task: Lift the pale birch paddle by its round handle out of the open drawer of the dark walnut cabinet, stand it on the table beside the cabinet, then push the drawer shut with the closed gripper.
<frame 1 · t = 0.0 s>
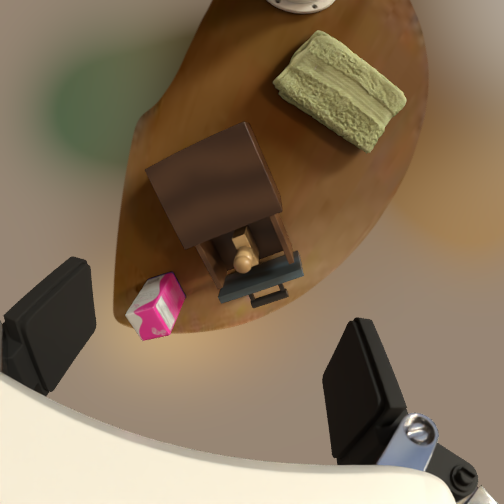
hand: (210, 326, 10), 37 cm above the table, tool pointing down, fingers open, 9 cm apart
washcloth: (340, 91, 38), on the table
drawer: (252, 259, 45), point 4 cm above the table, slide at 9.0 cm, touching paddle
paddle: (247, 240, 47), point 2 cm above the table, touching drawer
supplement box: (167, 287, 54), on the table
cabinet: (221, 178, 45), on the table
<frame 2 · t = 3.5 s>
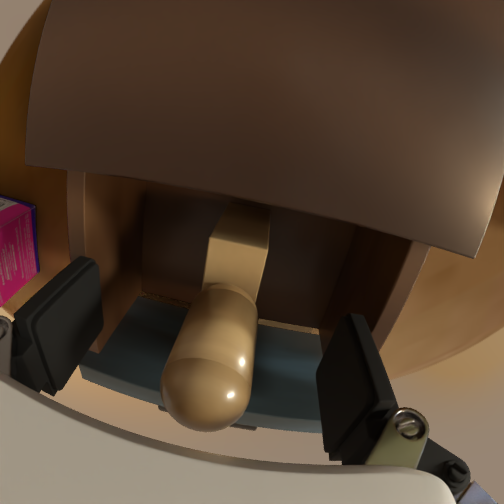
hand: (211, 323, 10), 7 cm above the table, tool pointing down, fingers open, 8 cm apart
drawer: (226, 318, 14), point 4 cm above the table, slide at 9.4 cm, touching gripper, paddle
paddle: (240, 253, 15), point 2 cm above the table, touching drawer
supplement box: (17, 231, 18), on the table
cabinet: (284, 46, 12), on the table
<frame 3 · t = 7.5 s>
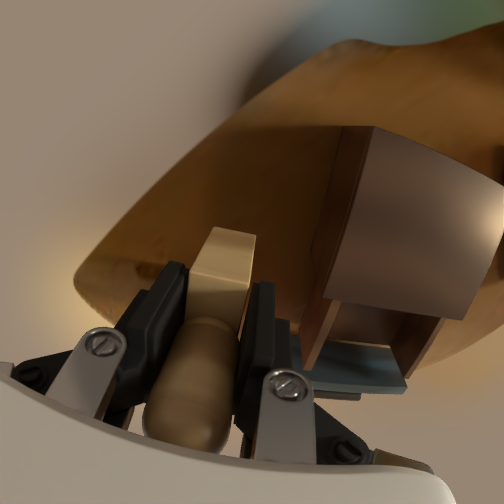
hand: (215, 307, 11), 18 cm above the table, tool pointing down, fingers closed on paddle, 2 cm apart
drawer: (359, 345, 28), point 4 cm above the table, slide at 9.8 cm
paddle: (226, 277, 15), point 14 cm above the table, touching gripper
cabinet: (394, 209, 26), on the table
when the fingers open (4 cm above the table, at t = 10.8 s): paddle stays where it is, on the table.
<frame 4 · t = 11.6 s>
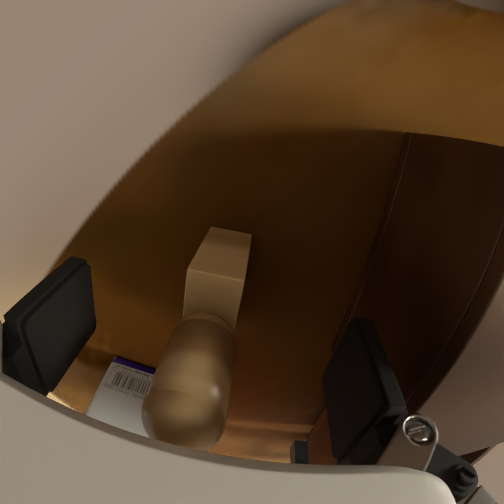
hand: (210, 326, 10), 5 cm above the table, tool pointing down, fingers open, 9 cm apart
drawer: (390, 458, 16), point 4 cm above the table, slide at 9.8 cm
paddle: (223, 275, 15), on the table
supplement box: (152, 389, 20), on the table
cabinet: (467, 276, 14), on the table
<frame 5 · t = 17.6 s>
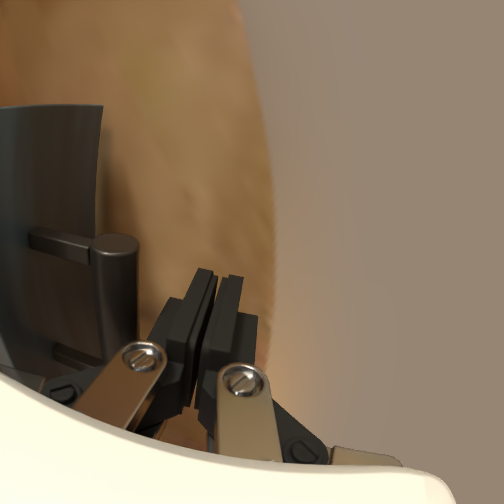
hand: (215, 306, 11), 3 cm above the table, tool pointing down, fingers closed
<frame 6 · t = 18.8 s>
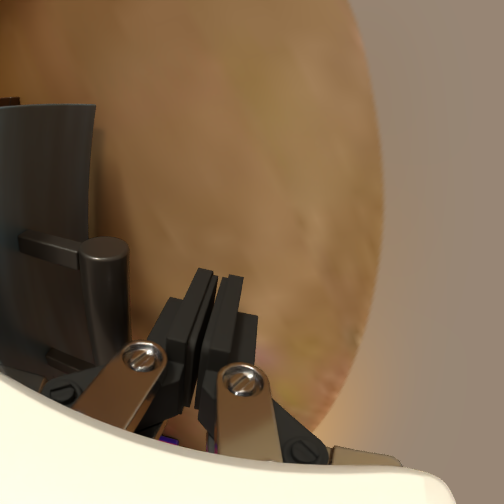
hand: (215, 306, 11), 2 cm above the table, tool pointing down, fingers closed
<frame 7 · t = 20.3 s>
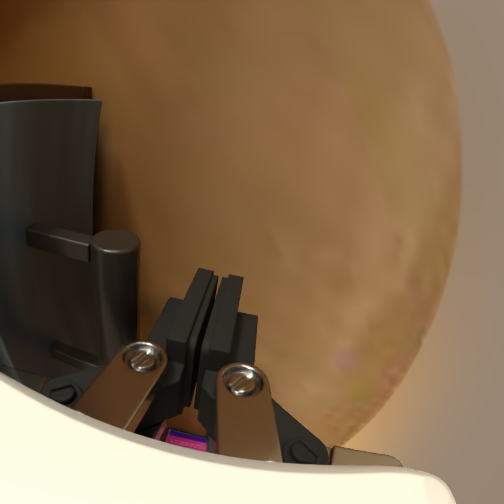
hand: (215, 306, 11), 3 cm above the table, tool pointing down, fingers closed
supplement box: (200, 447, 21), on the table
cabinet: (4, 218, 12), on the table
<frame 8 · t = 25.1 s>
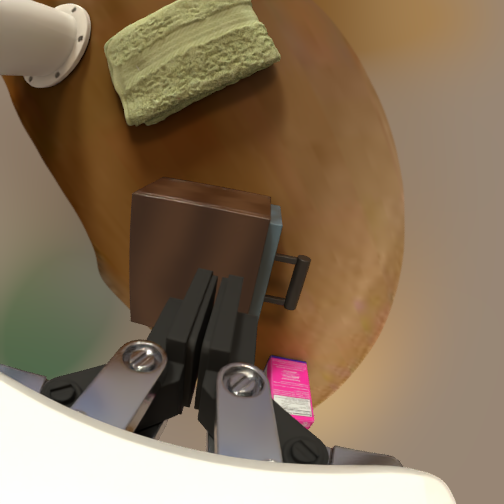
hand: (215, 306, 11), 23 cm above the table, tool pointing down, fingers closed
washcloth: (187, 51, 26), on the table
drawer: (232, 266, 31), point 4 cm above the table, slide at 0.0 cm, touching cabinet
supplement box: (283, 369, 43), on the table
cabinet: (206, 244, 35), on the table
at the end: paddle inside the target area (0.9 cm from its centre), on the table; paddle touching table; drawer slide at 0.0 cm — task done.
